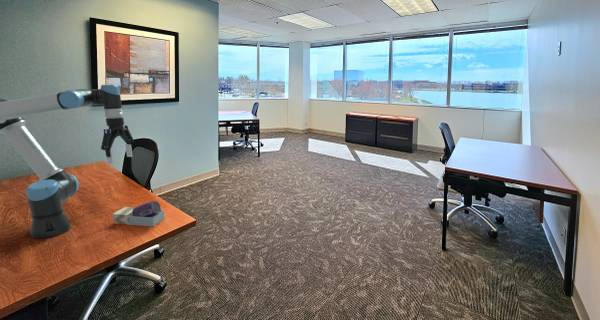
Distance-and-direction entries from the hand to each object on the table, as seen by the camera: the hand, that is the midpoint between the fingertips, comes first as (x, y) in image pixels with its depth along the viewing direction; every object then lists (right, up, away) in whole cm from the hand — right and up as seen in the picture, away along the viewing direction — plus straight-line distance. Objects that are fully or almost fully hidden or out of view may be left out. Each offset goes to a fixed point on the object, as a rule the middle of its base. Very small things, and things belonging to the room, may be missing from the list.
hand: (120, 159), depth 163 cm
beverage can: (+8, -27, -1) cm, 28 cm away
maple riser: (+3, -30, +1) cm, 30 cm away
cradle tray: (+14, -31, -1) cm, 34 cm away
